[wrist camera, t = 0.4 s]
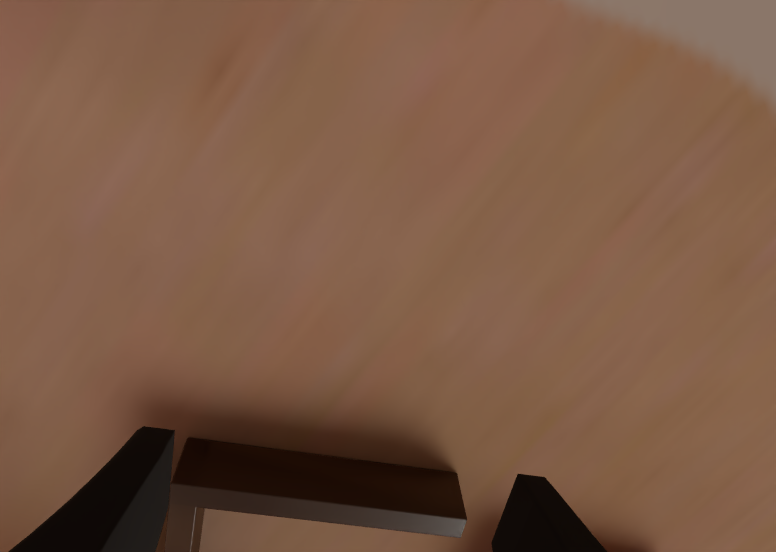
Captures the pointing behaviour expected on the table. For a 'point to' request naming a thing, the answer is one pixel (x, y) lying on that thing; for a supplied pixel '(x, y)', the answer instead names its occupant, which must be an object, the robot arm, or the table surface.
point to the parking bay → (307, 491)
